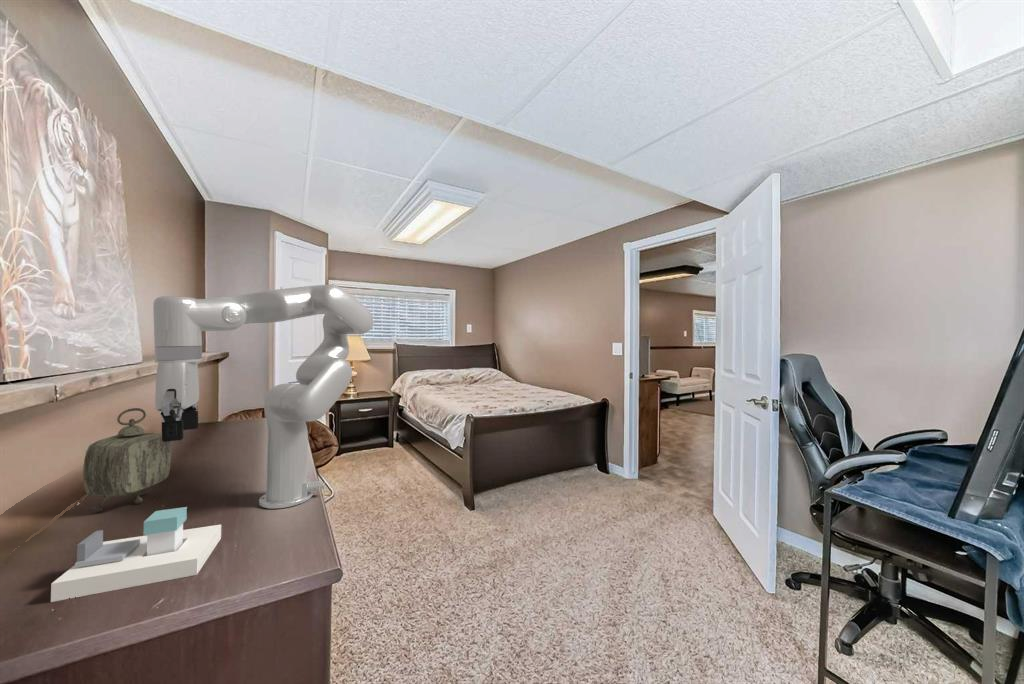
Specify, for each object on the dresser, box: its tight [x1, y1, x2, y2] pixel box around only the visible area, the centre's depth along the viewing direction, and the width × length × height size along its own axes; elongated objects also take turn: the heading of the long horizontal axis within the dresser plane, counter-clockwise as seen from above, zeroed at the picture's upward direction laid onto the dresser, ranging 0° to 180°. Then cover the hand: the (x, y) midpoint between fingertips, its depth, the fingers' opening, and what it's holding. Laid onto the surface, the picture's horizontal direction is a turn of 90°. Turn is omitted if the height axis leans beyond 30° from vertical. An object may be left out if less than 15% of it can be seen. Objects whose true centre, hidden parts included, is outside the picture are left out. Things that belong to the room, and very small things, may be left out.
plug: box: [142, 506, 188, 556], centre depth 72 cm, size 5×5×10 cm
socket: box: [50, 524, 222, 603], centre depth 71 cm, size 19×14×3 cm
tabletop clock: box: [82, 407, 172, 513], centre depth 98 cm, size 14×9×25 cm, turn 178°
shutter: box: [74, 529, 140, 568], centre depth 69 cm, size 6×6×4 cm
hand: (181, 434), depth 79 cm, fingers open, 9 cm apart
